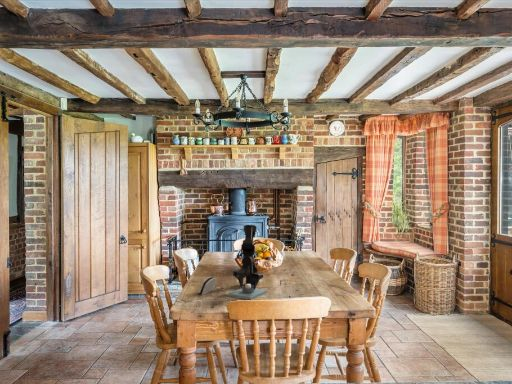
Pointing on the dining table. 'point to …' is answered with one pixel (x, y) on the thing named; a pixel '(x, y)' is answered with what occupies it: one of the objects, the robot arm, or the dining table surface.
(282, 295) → the dining table surface
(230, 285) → the dining table surface
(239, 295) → the piston plate
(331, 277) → the dining table surface
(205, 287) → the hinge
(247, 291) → the ring
